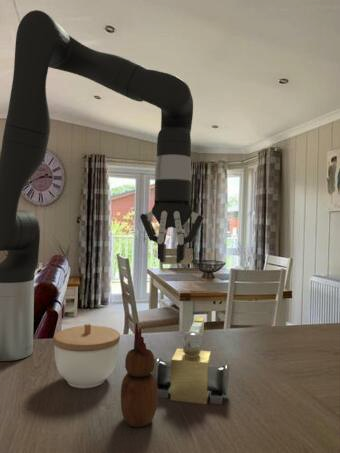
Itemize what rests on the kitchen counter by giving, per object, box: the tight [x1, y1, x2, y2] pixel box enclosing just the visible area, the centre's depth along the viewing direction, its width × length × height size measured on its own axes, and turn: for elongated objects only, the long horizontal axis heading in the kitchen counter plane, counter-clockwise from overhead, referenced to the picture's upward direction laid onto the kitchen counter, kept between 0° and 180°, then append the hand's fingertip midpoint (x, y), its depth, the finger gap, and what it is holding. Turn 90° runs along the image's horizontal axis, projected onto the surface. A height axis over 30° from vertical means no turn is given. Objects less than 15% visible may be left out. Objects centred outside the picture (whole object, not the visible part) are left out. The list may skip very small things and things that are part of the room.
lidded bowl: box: [53, 323, 121, 389], centre depth 75 cm, size 13×13×11 cm
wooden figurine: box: [120, 322, 158, 428], centre depth 60 cm, size 7×6×15 cm
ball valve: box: [151, 348, 230, 405], centre depth 70 cm, size 14×6×8 cm, turn 79°
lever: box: [182, 316, 205, 355], centre depth 75 cm, size 14×3×3 cm, turn 169°
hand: (171, 261), depth 79 cm, fingers open, 3 cm apart
